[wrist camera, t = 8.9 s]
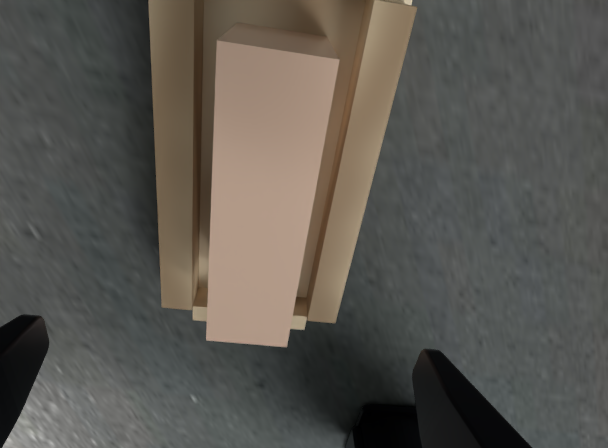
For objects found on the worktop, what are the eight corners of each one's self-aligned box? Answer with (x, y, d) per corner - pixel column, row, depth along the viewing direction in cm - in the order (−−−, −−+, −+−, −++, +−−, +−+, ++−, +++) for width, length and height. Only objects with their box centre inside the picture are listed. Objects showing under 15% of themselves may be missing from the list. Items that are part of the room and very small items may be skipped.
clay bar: (327, 36, 16) (339, 59, 12) (287, 275, 22) (286, 347, 18) (237, 22, 16) (216, 40, 11) (223, 268, 22) (206, 340, 18)
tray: (412, -26, 16) (433, -26, 13) (332, 301, 25) (336, 336, 22) (161, -71, 15) (136, -79, 13) (171, 286, 24) (157, 321, 21)
